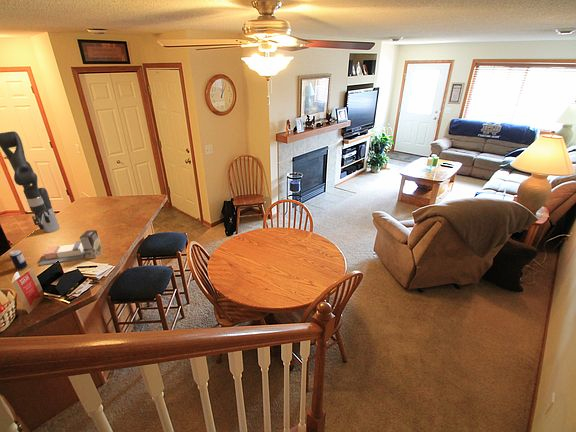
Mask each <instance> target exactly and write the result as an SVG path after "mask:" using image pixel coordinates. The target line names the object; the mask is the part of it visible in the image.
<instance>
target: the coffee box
mask: <svg viewBox="0 0 576 432" xmlns="http://www.w3.org/2000/svg"><path fill="white" fill-rule="evenodd" d="M79 241H81V243H82V246H83V249H84V252H85V257H86V259H96V258H97V257H98V256H99V255H100V254H101V253H102V252H103V247H102V244H101V240H100V237H99V234H98V231H97V230H96V229H91V230H90V229H89V230H86V231H85V232H83V234H82V235H80V237H79Z"/></svg>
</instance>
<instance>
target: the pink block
mask: <svg viewBox="0 0 576 432" xmlns="http://www.w3.org/2000/svg"><path fill="white" fill-rule="evenodd" d="M59 247H60V245H56V246H50V247H47V248H46V250H45V251H44V254H43V256H44V255H45V258H46V259H51V258H57V257H58V256H57V253H56V252H57V250H58V249H59Z"/></svg>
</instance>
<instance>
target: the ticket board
mask: <svg viewBox="0 0 576 432" xmlns="http://www.w3.org/2000/svg"><path fill="white" fill-rule="evenodd" d="M56 253H57V256H58V257H57V258H51V259H46V258H45V255H44V254H43V257H42V258H41V260H40V262H39V263H38V266H39V267H41V266H49V265H54V263H55V262H56V261H60V263H59V264H61V263H68V262H73V261H79V260H80V261H81V260H84V258H85V257H86V255H85V252H84V249H83V246H82V243H81V240H78V241H76V242H75V243H73V244H66V245H59V249H58V250H57V252H56ZM55 264H56V263H55Z"/></svg>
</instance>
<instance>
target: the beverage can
mask: <svg viewBox="0 0 576 432" xmlns="http://www.w3.org/2000/svg"><path fill="white" fill-rule="evenodd" d="M8 254H9V255H8V256H9V258H10V260H11V261H12V264H13V266H14V268H15V270H19V271H21V270H25V269H26V268H27V267H28V263H27V261H26V259H25V256H24V255H23V254H24V253H22V251H21V250H20V249H13V250H10V252H9V253H8Z"/></svg>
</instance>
